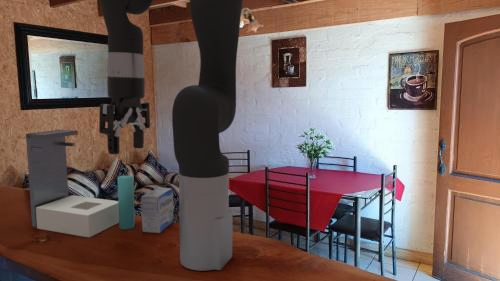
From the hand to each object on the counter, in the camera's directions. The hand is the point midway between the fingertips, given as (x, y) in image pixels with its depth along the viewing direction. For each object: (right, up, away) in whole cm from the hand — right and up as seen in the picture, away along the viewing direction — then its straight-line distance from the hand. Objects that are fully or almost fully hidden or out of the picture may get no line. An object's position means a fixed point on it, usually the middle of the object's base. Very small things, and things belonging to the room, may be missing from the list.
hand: (126, 150), depth 82 cm
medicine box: (+5, -19, +7) cm, 21 cm away
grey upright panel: (-20, -18, +10) cm, 29 cm away
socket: (-14, -18, +8) cm, 24 cm away
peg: (-2, -18, +7) cm, 20 cm away
